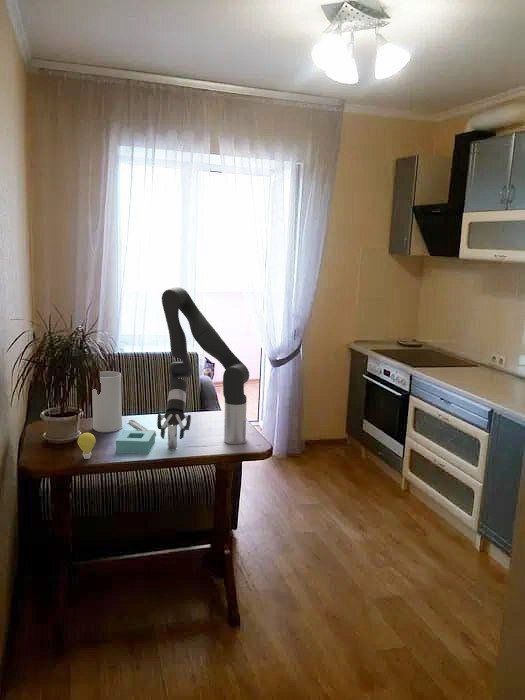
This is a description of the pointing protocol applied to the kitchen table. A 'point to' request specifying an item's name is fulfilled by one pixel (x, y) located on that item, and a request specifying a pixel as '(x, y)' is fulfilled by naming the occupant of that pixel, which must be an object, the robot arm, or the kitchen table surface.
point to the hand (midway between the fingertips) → (171, 438)
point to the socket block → (135, 441)
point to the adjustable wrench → (139, 426)
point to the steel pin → (172, 436)
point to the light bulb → (86, 444)
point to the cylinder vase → (108, 403)
